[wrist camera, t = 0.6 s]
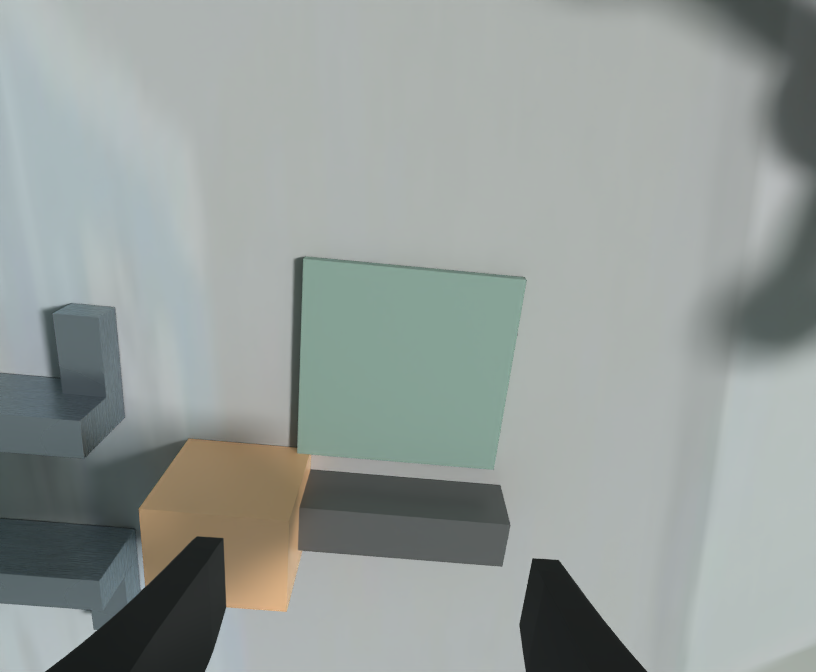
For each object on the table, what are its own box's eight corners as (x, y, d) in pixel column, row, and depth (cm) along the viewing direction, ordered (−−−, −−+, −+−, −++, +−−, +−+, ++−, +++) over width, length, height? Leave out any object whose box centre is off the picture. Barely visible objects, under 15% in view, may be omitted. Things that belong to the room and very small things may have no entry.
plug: (489, 542, 25) (506, 628, 20) (192, 518, 24) (146, 601, 20) (504, 465, 23) (524, 539, 19) (188, 438, 23) (138, 509, 19)
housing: (142, 610, 26) (109, 668, 23) (-34, 597, 26) (-88, 654, 23) (115, 307, 21) (69, 335, 18) (-105, 287, 21) (-187, 312, 18)
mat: (492, 464, 23) (493, 469, 23) (299, 447, 23) (297, 453, 23) (524, 277, 20) (526, 279, 20) (305, 256, 20) (303, 258, 20)
